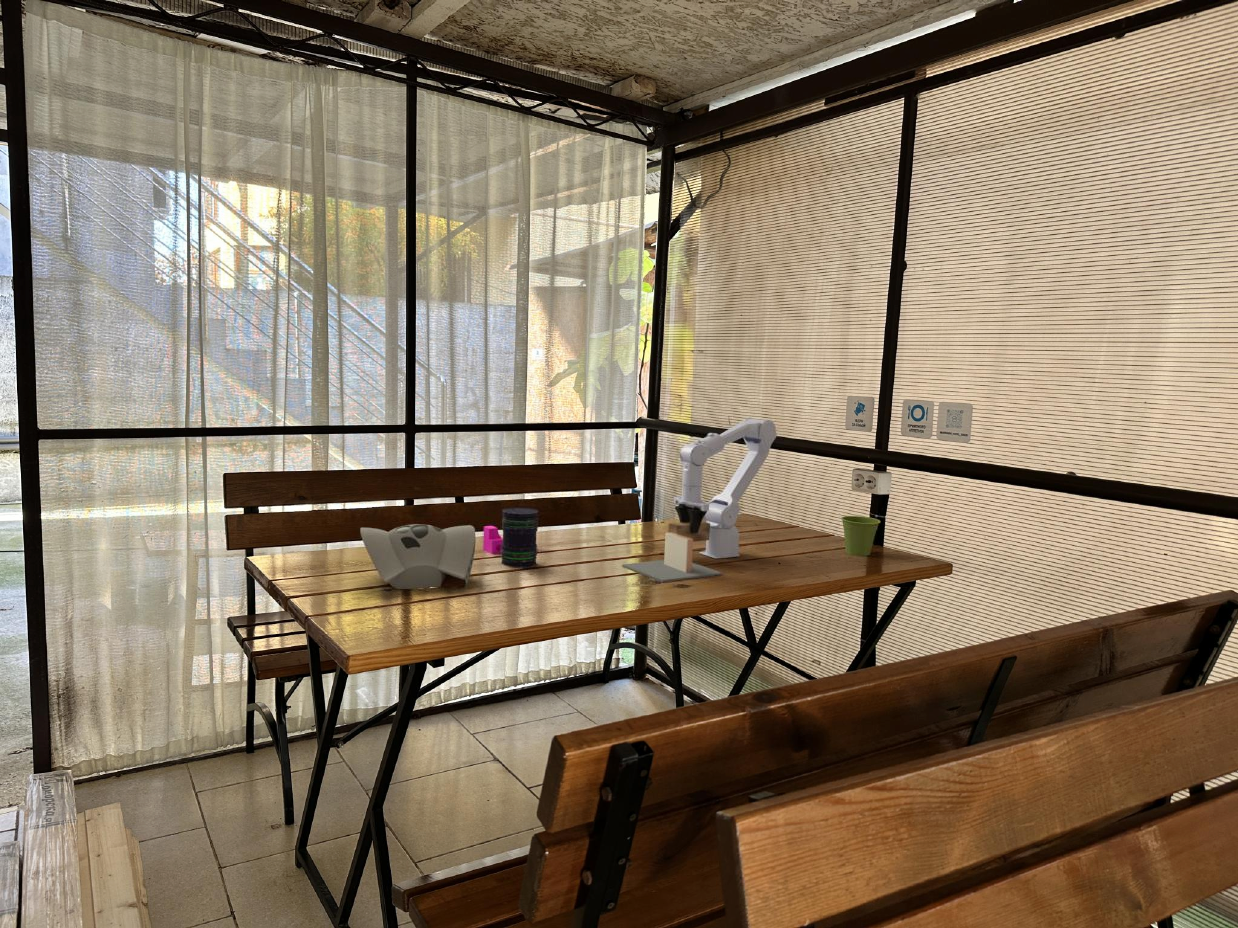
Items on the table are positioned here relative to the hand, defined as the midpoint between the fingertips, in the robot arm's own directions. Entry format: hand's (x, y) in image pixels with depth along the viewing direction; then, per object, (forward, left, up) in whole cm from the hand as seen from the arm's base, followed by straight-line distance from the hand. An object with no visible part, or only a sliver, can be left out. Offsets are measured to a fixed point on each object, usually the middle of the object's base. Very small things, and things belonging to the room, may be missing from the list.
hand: (689, 531), depth 251 cm
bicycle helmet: (+79, -9, -10) cm, 80 cm away
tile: (+11, +9, -8) cm, 16 cm away
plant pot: (-54, +16, -8) cm, 57 cm away
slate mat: (+13, +9, -8) cm, 18 cm away
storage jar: (+48, -14, -8) cm, 51 cm away
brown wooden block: (0, 0, -3) cm, 3 cm away
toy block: (+43, -30, -9) cm, 53 cm away
